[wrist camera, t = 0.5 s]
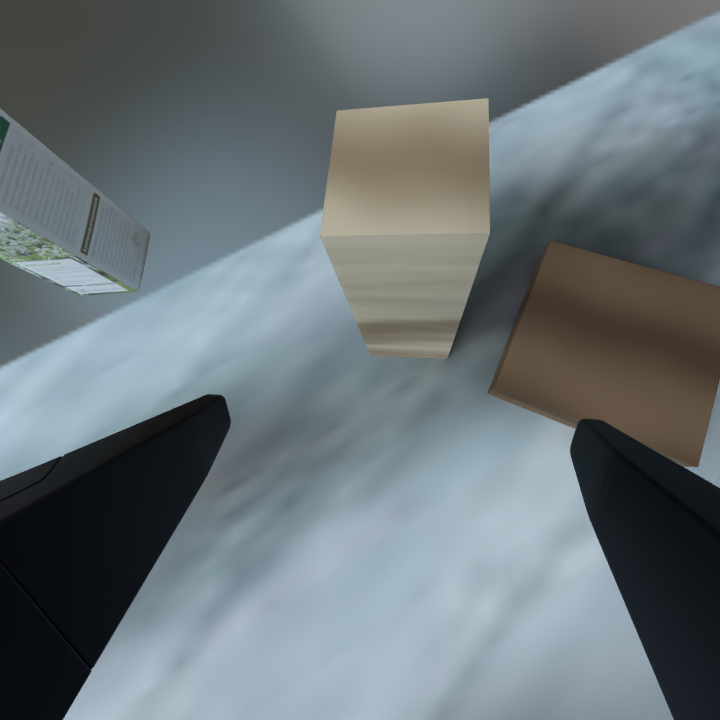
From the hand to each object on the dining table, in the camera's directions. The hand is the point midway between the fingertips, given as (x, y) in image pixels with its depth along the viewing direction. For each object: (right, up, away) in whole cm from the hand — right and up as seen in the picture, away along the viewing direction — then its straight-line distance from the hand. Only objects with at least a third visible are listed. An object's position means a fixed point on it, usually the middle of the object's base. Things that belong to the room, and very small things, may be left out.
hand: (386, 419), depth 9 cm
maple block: (+3, +4, +14) cm, 15 cm away
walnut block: (+14, +2, +12) cm, 19 cm away
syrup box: (-21, +9, +20) cm, 30 cm away
